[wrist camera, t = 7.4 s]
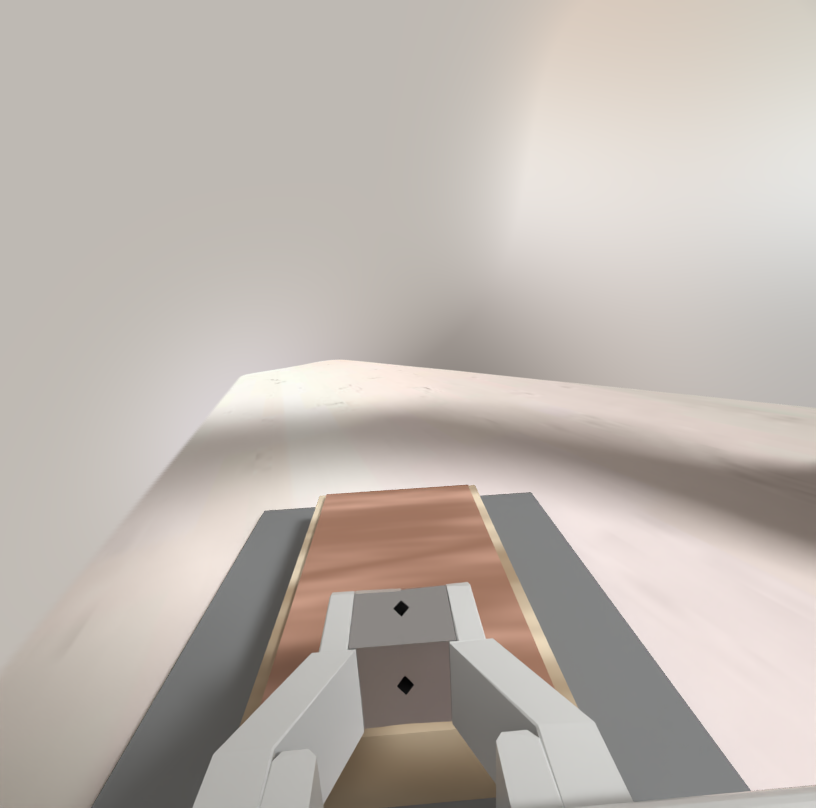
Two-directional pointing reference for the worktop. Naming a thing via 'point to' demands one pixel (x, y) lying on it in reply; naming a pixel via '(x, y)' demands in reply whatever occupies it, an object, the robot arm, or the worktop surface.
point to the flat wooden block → (402, 568)
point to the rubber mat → (553, 607)
